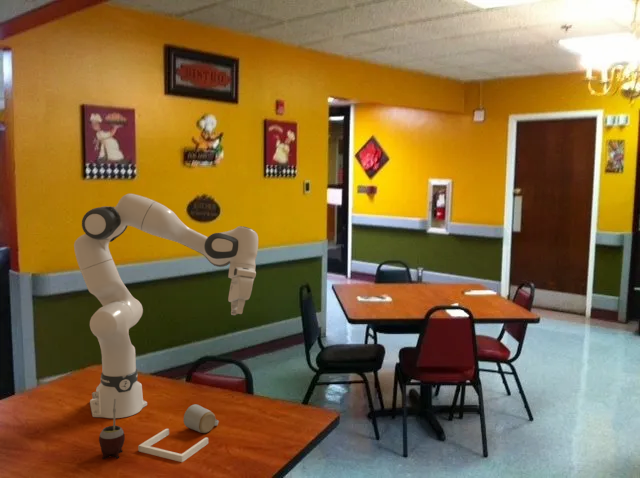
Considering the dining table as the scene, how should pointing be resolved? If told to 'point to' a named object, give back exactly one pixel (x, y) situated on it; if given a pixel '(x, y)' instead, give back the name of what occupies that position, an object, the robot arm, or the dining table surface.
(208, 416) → the ceramic mug
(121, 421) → the dining table surface
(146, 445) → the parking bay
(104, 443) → the mate gourd
